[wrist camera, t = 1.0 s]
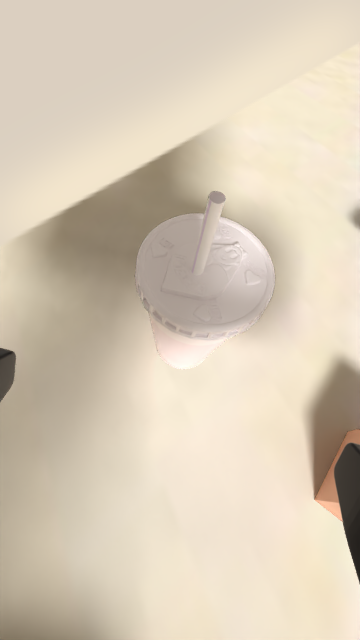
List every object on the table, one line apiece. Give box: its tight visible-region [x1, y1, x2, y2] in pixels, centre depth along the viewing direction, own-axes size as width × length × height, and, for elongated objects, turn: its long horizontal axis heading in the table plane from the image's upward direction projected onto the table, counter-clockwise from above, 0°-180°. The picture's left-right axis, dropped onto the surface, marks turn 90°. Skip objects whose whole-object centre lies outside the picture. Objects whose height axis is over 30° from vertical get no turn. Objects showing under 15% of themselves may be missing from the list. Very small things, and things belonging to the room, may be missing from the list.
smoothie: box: [135, 191, 275, 369], centre depth 17 cm, size 6×6×14 cm
